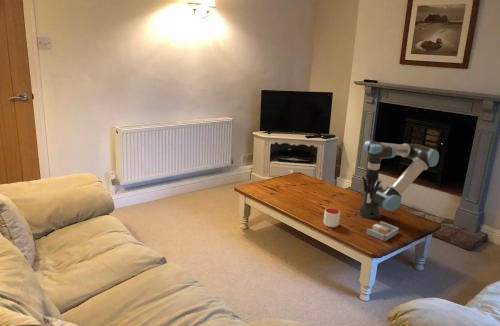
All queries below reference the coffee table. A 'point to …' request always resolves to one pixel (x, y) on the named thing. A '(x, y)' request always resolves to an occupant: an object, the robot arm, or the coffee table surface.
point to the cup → (331, 217)
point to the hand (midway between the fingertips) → (368, 202)
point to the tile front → (383, 230)
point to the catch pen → (380, 236)
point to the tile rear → (376, 227)
